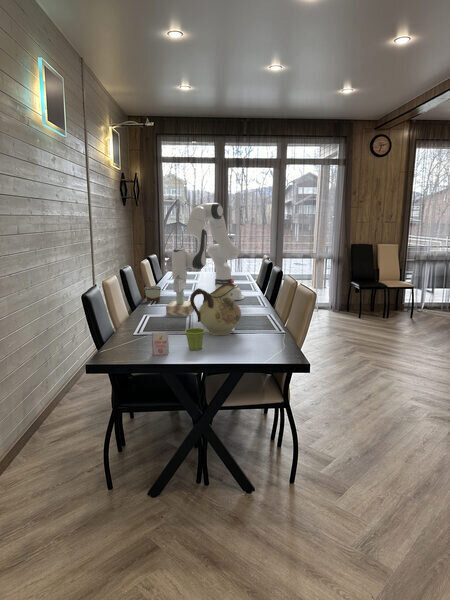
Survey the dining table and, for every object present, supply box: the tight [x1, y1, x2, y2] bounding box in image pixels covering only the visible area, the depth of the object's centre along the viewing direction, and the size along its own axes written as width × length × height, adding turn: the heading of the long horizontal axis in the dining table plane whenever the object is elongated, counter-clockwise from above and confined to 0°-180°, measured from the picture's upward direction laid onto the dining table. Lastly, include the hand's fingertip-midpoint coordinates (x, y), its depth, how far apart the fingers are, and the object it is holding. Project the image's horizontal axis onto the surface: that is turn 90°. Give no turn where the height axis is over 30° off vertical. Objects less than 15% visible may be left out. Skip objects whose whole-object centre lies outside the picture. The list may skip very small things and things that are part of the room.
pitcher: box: [189, 283, 242, 336], centre depth 218 cm, size 22×24×25 cm
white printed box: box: [151, 332, 170, 357], centre depth 187 cm, size 4×7×10 cm, turn 90°
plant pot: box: [184, 327, 206, 351], centre depth 195 cm, size 9×9×9 cm
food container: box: [143, 285, 162, 303], centre depth 298 cm, size 12×6×10 cm, turn 84°
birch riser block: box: [165, 300, 195, 317], centre depth 264 cm, size 14×16×6 cm
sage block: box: [175, 291, 185, 304], centre depth 263 cm, size 4×4×7 cm
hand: (180, 296), depth 263 cm, fingers open, 8 cm apart
